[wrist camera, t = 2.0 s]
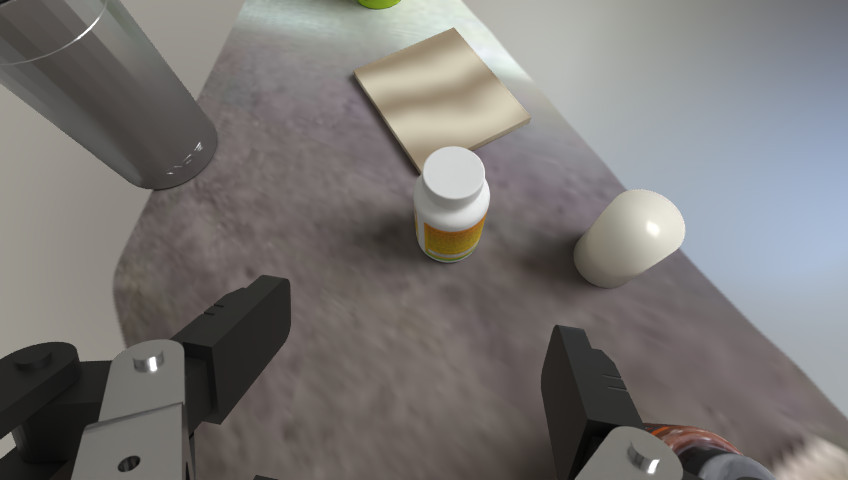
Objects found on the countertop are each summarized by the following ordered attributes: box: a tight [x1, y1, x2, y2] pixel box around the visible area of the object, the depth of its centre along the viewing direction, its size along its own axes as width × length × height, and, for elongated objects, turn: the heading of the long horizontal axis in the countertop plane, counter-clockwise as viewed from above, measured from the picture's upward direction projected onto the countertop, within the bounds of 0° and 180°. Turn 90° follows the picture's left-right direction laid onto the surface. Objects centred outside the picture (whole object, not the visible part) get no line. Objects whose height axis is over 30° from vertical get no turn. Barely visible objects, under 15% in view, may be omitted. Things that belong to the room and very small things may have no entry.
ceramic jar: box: [573, 189, 685, 288], centre depth 30 cm, size 5×5×7 cm
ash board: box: [353, 28, 531, 175], centre depth 40 cm, size 14×12×1 cm
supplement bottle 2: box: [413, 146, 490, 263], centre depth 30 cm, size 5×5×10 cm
